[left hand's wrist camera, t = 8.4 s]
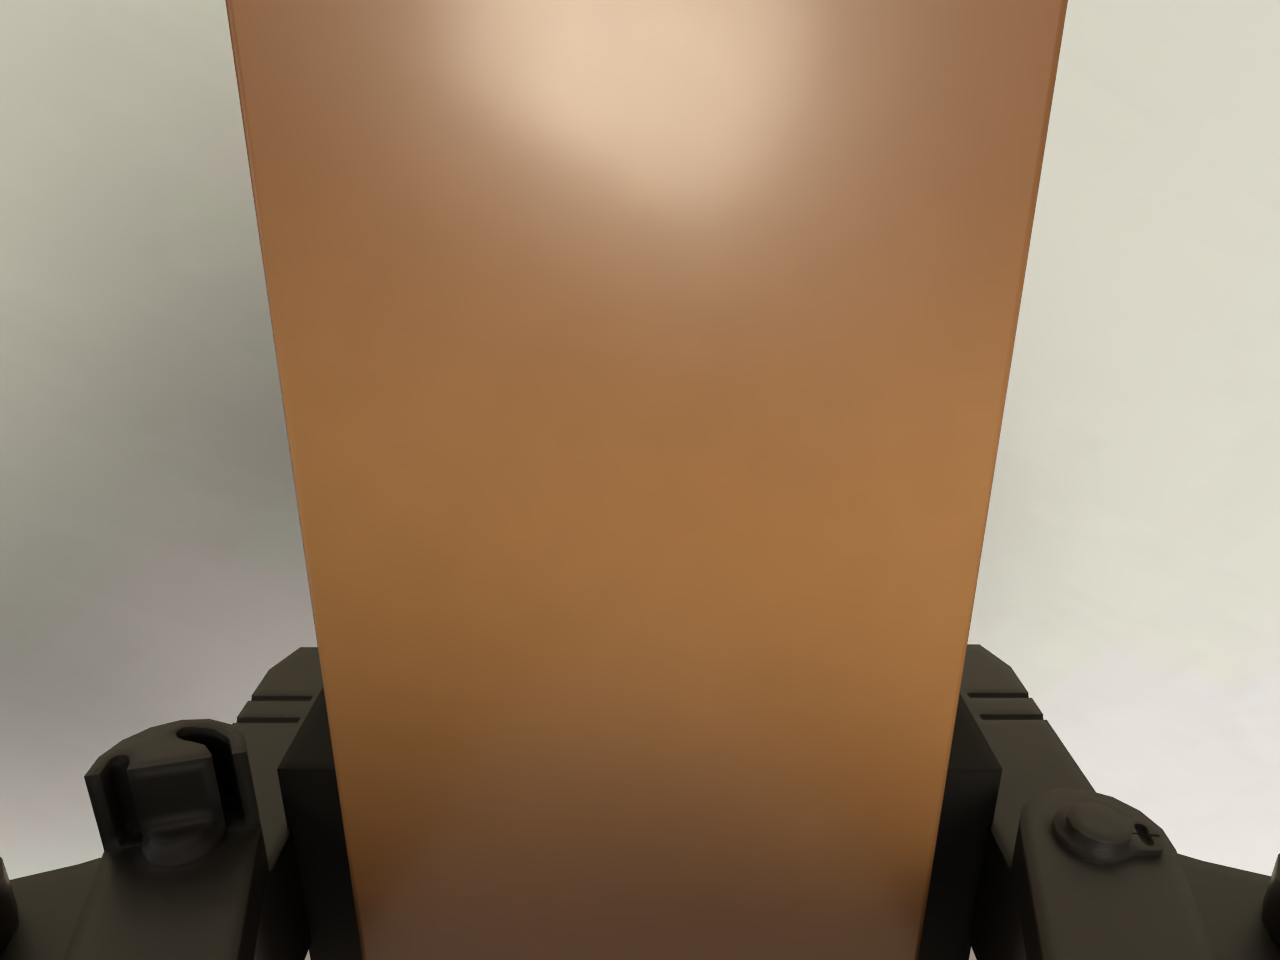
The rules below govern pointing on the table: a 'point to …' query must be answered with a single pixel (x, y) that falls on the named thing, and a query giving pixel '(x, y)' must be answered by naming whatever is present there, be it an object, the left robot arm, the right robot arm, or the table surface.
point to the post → (643, 447)
